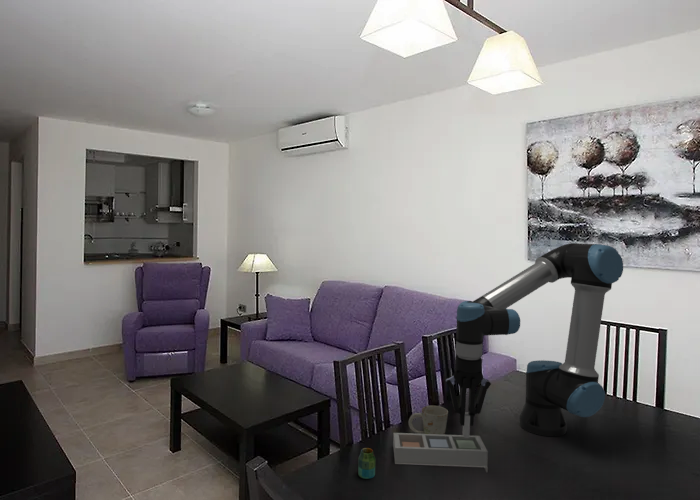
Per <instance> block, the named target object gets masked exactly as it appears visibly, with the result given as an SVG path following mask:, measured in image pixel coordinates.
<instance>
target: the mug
mask: <svg viewBox="0 0 700 500" xmlns="http://www.w3.org/2000/svg"><path fill="white" fill-rule="evenodd" d="M448 416H449V411H448V409H447V408H445V407H443V406H440V405H426V406H423V407H422V408H421V412H417V413H415V412H414V413H412V414H411V415H410V417H409V418H408V427H409V429H410V430H412V432H414V434H441V435H446V430H447V423H448ZM416 418H422V426H423V430H417V429H416V428H415V427H414V425H413V421H414V419H416Z"/></svg>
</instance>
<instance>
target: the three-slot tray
mask: <svg viewBox="0 0 700 500" xmlns="http://www.w3.org/2000/svg"><path fill="white" fill-rule="evenodd" d="M429 439H443V440H446V441H447V444H448V447H449V448H429ZM392 440H393V442H392V447H393V448H392V449H393V457H394V464H395V465H414V466H415V465H416V466H417V465H419V466H439V467H443V466H444V467H466V468H467V467H469V468H484V470H485V472H486V473H488V472H489V471H488V470H489V468H488V467H489V466H488V455H489V454H488V453H489V451H488V449H487V448H486V446H485V444H484V442H483V440H482V438H481V435H470V436H469V438H464V436H463V434H445V435H441V434H418V433H415V432H414V433H412V432H411V433H409V432H408V433H406V432H393V439H392ZM456 440H470V441H473V442H474V444H475V446H476V448H477V449H457V448H456ZM402 442H419V445H420V447H402Z"/></svg>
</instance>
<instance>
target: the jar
mask: <svg viewBox="0 0 700 500" xmlns="http://www.w3.org/2000/svg"><path fill="white" fill-rule="evenodd" d="M359 453H360V454H359V456H358V459H357V460H358V461H357V463H358V465H357V466H358V471H357V472H358V477H360V478H361V479H364V480H365V479H366V480H368V479H372V478H374V477H375V475H376V456H375V454H374V453H375V452H374V450H373V449H372V448H369V447H364V448H362V449H360V452H359Z"/></svg>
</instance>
